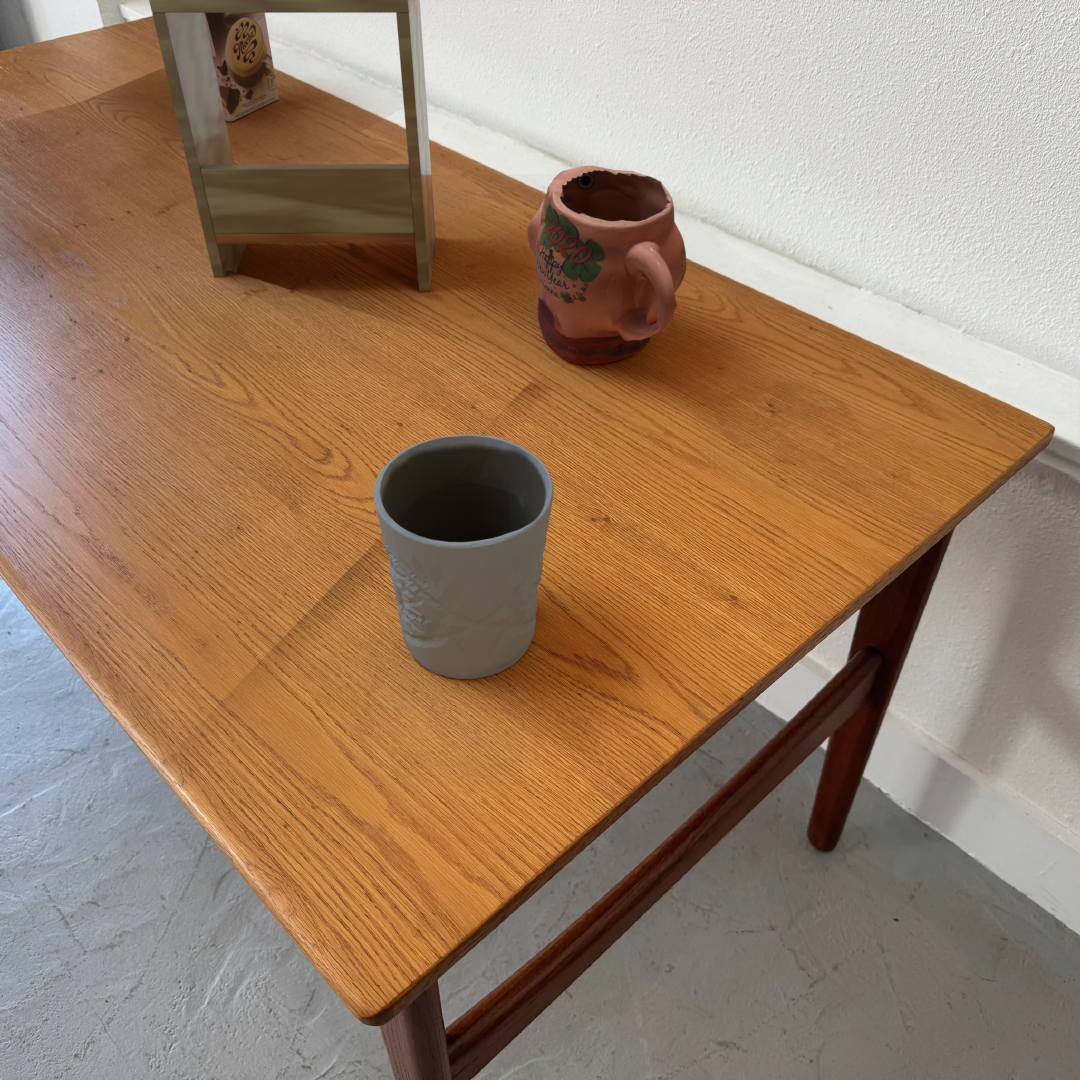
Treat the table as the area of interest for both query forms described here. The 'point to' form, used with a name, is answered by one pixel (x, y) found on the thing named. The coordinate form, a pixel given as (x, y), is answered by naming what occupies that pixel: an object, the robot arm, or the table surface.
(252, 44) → the coffee box
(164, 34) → the shelf unit
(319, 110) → the table surface
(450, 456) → the grey cup
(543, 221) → the pink ceramic mug
